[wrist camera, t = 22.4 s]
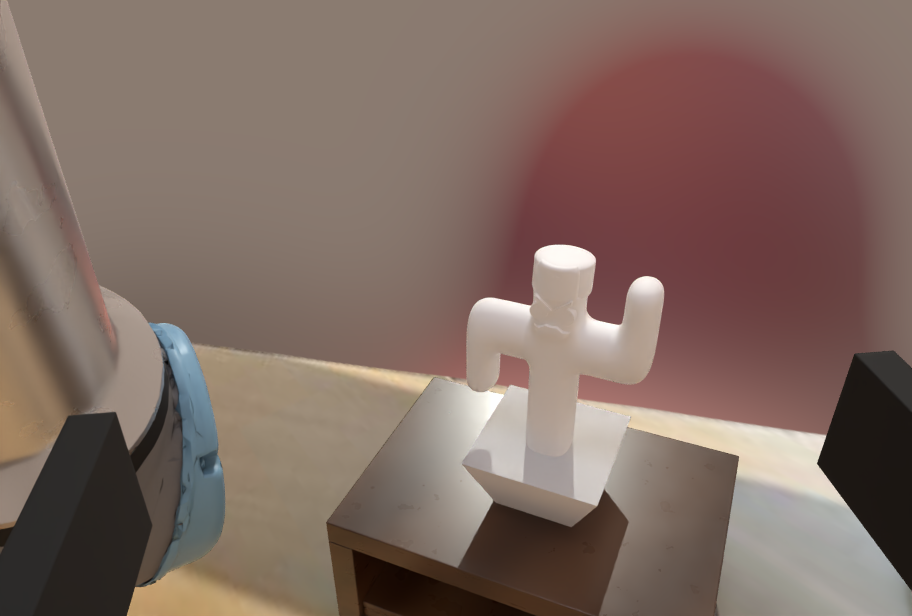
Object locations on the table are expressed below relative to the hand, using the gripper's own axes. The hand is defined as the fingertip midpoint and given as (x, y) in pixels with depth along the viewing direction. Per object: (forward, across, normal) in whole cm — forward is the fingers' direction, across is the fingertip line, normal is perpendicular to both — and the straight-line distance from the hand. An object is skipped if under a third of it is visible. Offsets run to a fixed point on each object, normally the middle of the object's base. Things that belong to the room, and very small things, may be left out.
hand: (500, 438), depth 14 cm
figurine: (+20, +6, -22) cm, 30 cm away
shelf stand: (+20, +6, -32) cm, 38 cm away
